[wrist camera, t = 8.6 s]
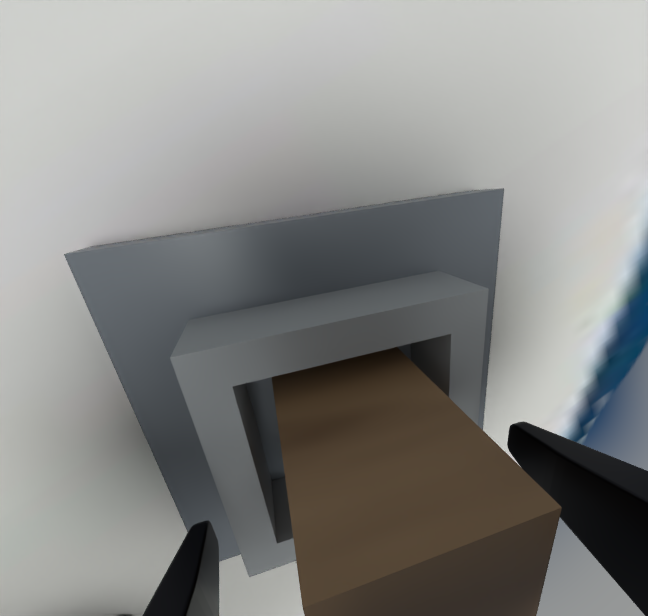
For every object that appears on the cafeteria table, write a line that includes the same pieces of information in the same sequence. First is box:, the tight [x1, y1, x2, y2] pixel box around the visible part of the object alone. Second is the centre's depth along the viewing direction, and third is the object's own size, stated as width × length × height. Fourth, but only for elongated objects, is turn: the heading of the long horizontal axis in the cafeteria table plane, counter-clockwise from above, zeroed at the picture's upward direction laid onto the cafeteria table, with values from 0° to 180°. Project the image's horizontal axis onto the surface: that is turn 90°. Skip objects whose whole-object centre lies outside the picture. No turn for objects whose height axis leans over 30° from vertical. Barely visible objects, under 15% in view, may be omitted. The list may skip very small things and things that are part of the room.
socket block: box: [64, 189, 504, 577], centre depth 11 cm, size 14×14×4 cm
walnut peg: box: [272, 347, 562, 616], centre depth 9 cm, size 4×4×7 cm
